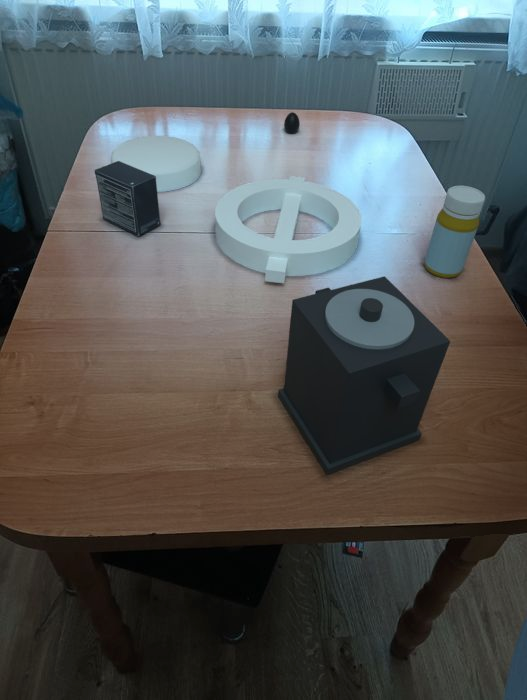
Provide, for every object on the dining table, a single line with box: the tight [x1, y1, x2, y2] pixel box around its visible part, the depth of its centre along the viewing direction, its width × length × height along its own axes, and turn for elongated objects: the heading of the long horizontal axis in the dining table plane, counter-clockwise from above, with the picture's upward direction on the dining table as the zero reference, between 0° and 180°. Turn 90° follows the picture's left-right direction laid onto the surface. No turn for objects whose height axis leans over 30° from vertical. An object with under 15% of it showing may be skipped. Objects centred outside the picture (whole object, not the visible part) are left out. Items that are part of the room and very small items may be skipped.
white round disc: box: [110, 135, 202, 193], centre depth 123 cm, size 20×20×5 cm
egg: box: [283, 111, 301, 135], centre depth 143 cm, size 4×4×5 cm
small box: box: [94, 161, 162, 237], centre depth 104 cm, size 11×6×10 cm, turn 53°
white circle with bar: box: [214, 175, 362, 284], centre depth 105 cm, size 28×28×5 cm
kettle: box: [277, 276, 451, 476], centre depth 67 cm, size 20×15×20 cm
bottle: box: [423, 185, 486, 279], centre depth 95 cm, size 7×7×15 cm
